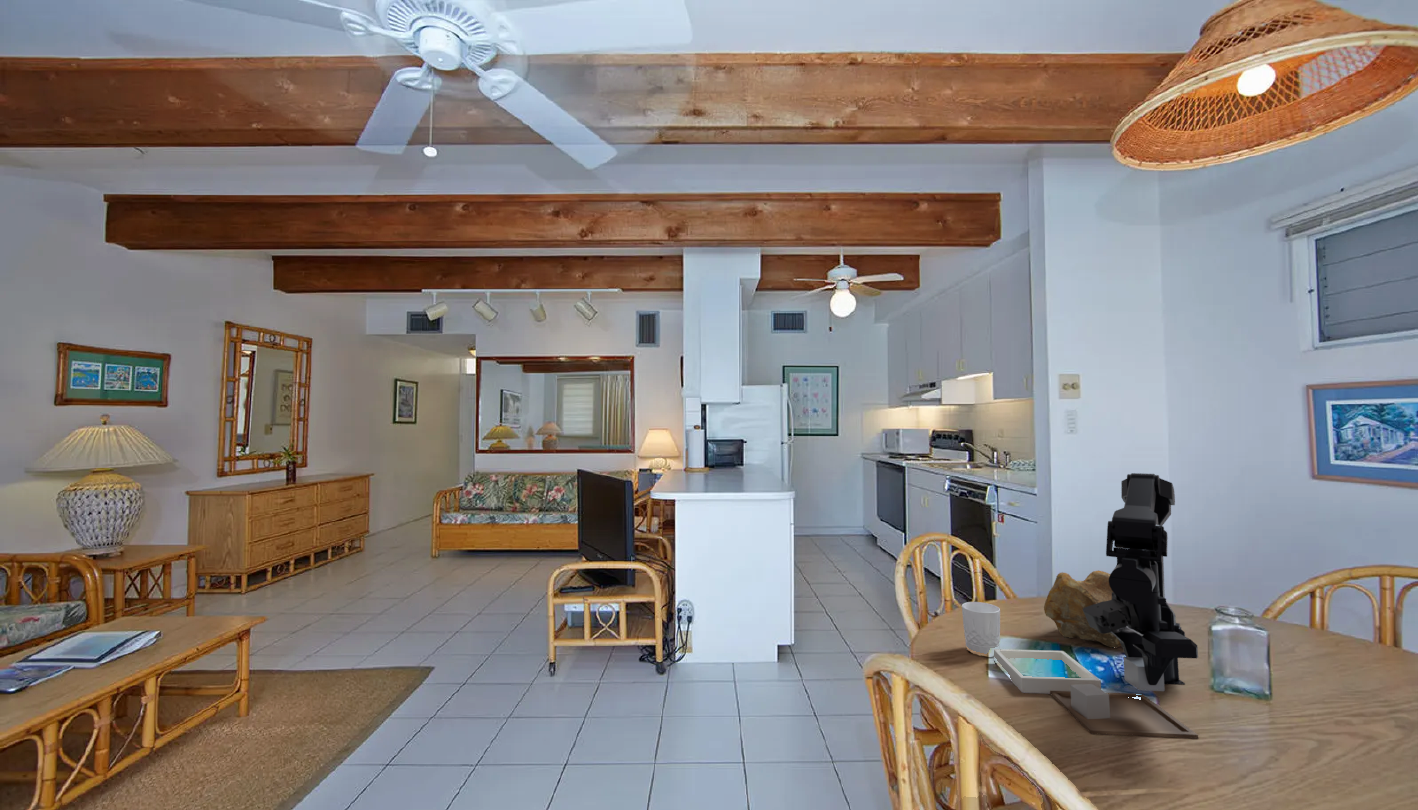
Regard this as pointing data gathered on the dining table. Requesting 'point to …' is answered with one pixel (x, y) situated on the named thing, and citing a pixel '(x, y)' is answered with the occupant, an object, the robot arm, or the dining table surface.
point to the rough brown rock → (1079, 605)
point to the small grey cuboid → (1090, 701)
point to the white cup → (981, 626)
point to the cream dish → (1044, 683)
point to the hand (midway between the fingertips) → (1143, 679)
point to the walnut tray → (1129, 717)
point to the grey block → (1139, 675)
